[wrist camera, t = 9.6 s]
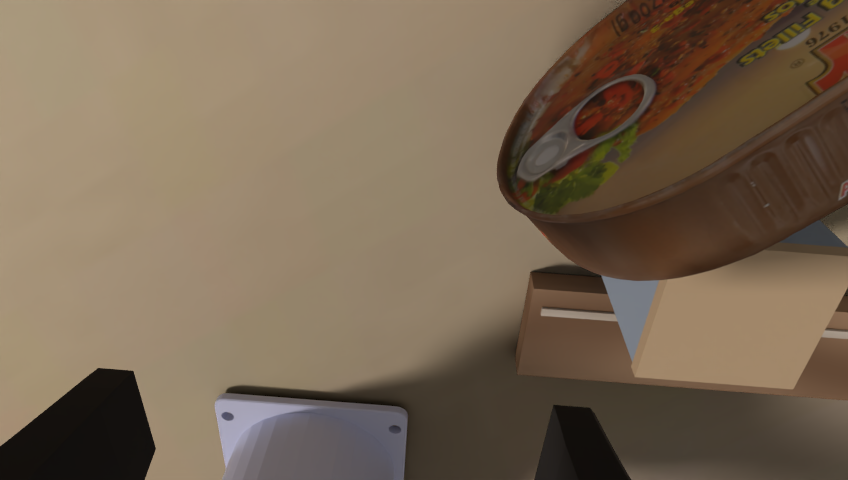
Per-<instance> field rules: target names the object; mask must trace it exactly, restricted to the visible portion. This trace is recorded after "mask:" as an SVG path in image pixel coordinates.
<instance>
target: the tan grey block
mask: <svg viewBox="0 0 848 480" xmlns="http://www.w3.org/2000/svg"><path fill="white" fill-rule="evenodd" d="M601 276H602V275H601ZM602 279H603V282H604V284H605V287H606V290H607V293H608V296H609V298H610V301H611V304H612V307H613V310H614V312H615V315H616V318H617V321H618V324H619V326H620V329H621V332H622V335H623V338H624V340H625V343H626V346H627V349H628V352H629V354H630V357H631V360H632V365H631V368H632V371H633V373H634V376H635V377H639V378H652V379H665V380H678V381H691V382H703V383H716V384H729V385H742V386H755V387H768V388H780V389H794V387H795V385H796V383H797V381H798V379H799V378H800V376H801V374H802V372H803V370H804V368H805V366H806V365H807V363H808V361H809V359H810V357H811V355H812V353H813V351H814V350H815V348H816V346H817V344H818V342H819V340H820V338H821V337H822V335H823V333H824V331H825V329H826V327H827V325H828V324H829V322H830V320H831V318H832V316H833V314H834V312H835V310H836V309H837V307H838V305H839V303H840V301H841V299H842V297H843V296H844V294H845V292H846V290H847V288H848V247H847V246H846V245H845V244H844V243H843V242H842V241H841V240H840V239H839V238H838V237H837V236H836V235H835V234H834V233H833V232H832V231H830V230H829V229H828V228H827V227H826V226H825V225H824V224H823V223H822V222H821V221H820V220H818V221H816V222H814V223H812V224H811V225H809V226H807V227H806V228H804V229H802V230H800V231H798V232H796V233H794V234H792V235H791V236H789V237H788V238H786V239H785V240H783V241H780V242H778V243H776V244H774V245H773V246H771V247H769V248H767V249H765V250H763V251H761V252H759V253H757V254H755V255H753V256H750V257H747V258H745V259H742V260H740V261H737V262H734V263H731V264H729V265H726V266H723V267H720V268H717V269H714V270H711V271H707V272H703V273H699V274H695V275H691V276H686V277H682V278H675V279H667V280H654V281H632V280H621V279H615V278H610V277H606V276H602Z"/></svg>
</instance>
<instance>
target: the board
mask: <svg viewBox="0 0 848 480" xmlns="http://www.w3.org/2000/svg"><path fill="white" fill-rule="evenodd" d="M515 361H516V369H517V375H527V376H540V377H553V378H566V379H579V380H591V381H604V382H617V383H630V384H643V385H656V386H669V387H682V388H695V389H708V390H721V391H734V392H746V393H759V394H772V395H785V396H798V397H811V398H824V399H837V400H848V296H843V297H842V299H841V301H840V303H839V305H838V307H837V309H836V310H835V312H834V314H833V316H832V318H831V320H830V322H829V324H828V325H827V327H826V329H825V331H824V333H823V335H822V337H821V338H820V340H819V342H818V344H817V346H816V348H815V350H814V351H813V353H812V355H811V357H810V359H809V361H808V363H807V365H806V366H805V368H804V370H803V372H802V374H801V376H800V378H799V379H798V381H797V383H796V385H795V387H794V389H780V388H768V387H755V386H742V385H729V384H716V383H703V382H691V381H678V380H665V379H652V378H639V377H635V376H634V373H633V371H632V368H631V365H632V360H631V357H630V354H629V352H628V349H627V346H626V343H625V340H624V338H623V335H622V332H621V329H620V326H619V324H618V321H617V318H616V315H615V312H614V310H613V307H612V304H611V301H610V298H609V296H608V293H607V290H606V287H605V284H604V282H603V279H602V277H591V276H578V275H565V274H552V273H538V272H531V273H530V278H529V284H528V289H527V295H526V300H525V305H524V311H523V316H522V321H521V327H520V332H519V337H518V343H517V348H516V354H515Z"/></svg>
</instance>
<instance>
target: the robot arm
mask: <svg viewBox="0 0 848 480" xmlns="http://www.w3.org/2000/svg"><path fill="white" fill-rule="evenodd" d="M215 411H216V416H217V422H218V427H219V433H220V439H221V444H222V450H223V455H224V461H225V466H226V470H225V473H224V475H223V478H222V480H404V469H405V454H406V438H407V423H408V414H407V412H406V410H405V409H403V408H401V407H397V406H386V405H374V404H361V403H348V402H335V401H322V400H310V399H297V398H284V397H271V396H258V395H246V394H233V393H223V394H221V395H219V396H218V398H217V400H216V402H215ZM228 412H229V413H228ZM392 425H396V426H392ZM155 449H156V448H155V444H154V441H153V437H152V434H151V431H150V427H149V424H148V420H147V417H146V413H145V410H144V406H143V403H142V399H141V396H140V392H139V389H138V386H137V382H136V379H135V375H134V372H133V371H128V370H115V369H103V368H98V369H97V370H95V371H94V372H93V373H91V374H90V375H89V376H88V377H86V378H85V379H84V380H82V381H81V382H80V383H79V384H77V385H76V386H75V387H74V388H72V389H71V390H70V391H69V392H68V393H66V394H65V395H64V396H63V397H61V398H60V399H59V400H58V401H56V402H55V403H54V404H53V405H51V406H50V407H49V408H48V409H47V410H45V411H44V412H43V413H42V414H40V415H39V416H38V417H37V418H35V419H34V420H33V421H32V422H30V423H29V424H28V425H27V426H25V427H24V428H23V429H22V430H20V431H19V432H18V433H17V434H15V435H14V436H13V437H12V438H10V439H9V440H8V441H7V442H5V443H4V444H3V445H1V446H0V480H145V477H146V474H147V471H148V469H149V466H150V463H151V460H152V458H153V455H154V452H155ZM535 480H631V479H630V477H629V476H628V474H627V472H626V470H625V469H624V467H623V465H622V463H621V462H620V460H619V458H618V456H617V455H616V453H615V451H614V449H613V447H612V445H611V444H610V442H609V440H608V438H607V436H606V434H605V432H604V431H603V429H602V427H601V425H600V423H599V421H598V419H597V417H596V415H595V413H594V412H593V411H592V410H591V409H590V408H584V407H572V406H559V405H554V406H553V409H552V413H551V417H550V421H549V425H548V429H547V433H546V437H545V441H544V445H543V449H542V452H541V456H540V460H539V464H538V468H537V472H536V476H535Z"/></svg>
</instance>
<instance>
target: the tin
mask: <svg viewBox="0 0 848 480" xmlns="http://www.w3.org/2000/svg"><path fill="white" fill-rule="evenodd" d="M497 180H498V183H499V188H500V191H501V193H502V194H503V196H504V198H505V199H506V201H507V202H508V203H509V204H510V205H511V206H512V207H513V208H514V209H516V210H517V211H519V212H521V213H522V214H524V215H526V216H527V217H528V218H529V219H530V220H531V221H532V223H533V224H534V225H535V226H536V227H537V228H538V229H539V230H540V231H541V232H542V234H543V235H544V236H545V237H546V238H547V239H548V240H549V241H550V242H551V243H552V244H553V245H554V246H555V247H556V248H557V249H558V250H559V251H560V252H561V253H563V254H564V255H565V256H566V257H567V258H568V259H570V260H571V261H573V262H574V263H576V264H577V265H579V266H580V267H582V268H585V269H587V270H589V271H591V272H594V273H597V274H599V275H602V276H606V277H610V278H615V279H621V280H632V281H654V280H667V279H675V278H682V277H686V276H691V275H695V274H699V273H703V272H707V271H711V270H714V269H717V268H720V267H723V266H726V265H729V264H731V263H734V262H737V261H740V260H742V259H745V258H747V257H750V256H753V255H755V254H757V253H759V252H761V251H763V250H765V249H767V248H769V247H771V246H773V245H774V244H776V243H778V242H780V241H783V240H785V239H786V238H788V237H789V236H791V235H792V234H794V233H796V232H798V231H800V230H802V229H804V228H806V227H807V226H809V225H811V224H812V223H814V222H816V221H818V220H820V219H821V218H823V217H825V216H827V215H829V214H830V213H832V212H834V211H836V210H838V209H839V208H841V207H843V206H845V205H847V204H848V0H627V1H626V2H624V3H623V4H622V5H620V6H619V7H618V8H617V9H615V10H614V11H613V12H612V13H610V14H609V15H608V16H607V17H605V18H604V19H603V20H602V21H600V22H599V23H598V24H597V25H595V26H594V27H593V28H592V29H591V30H589V31H588V32H587V33H586V34H585V35H584V36H582V37H581V38H580V39H579V40H578V41H577V42H576V43H575V44H574V45H573V46H571V47H570V48H569V49H568V50H567V51H566V52H565V53H564V54H563V55H562V57H561V58H560V59H559V60H558V61H557V62H556V63H555V64H554V65H553V66H552V67H551V68H550V69H549V70H548V71H547V72H546V74H545V75H544V76H543V77H542V78H541V79H540V80H539V82H538V83H537V84H536V85H535V87H534V88H533V89H532V91H531V92H530V93H529V95H528V96H527V97H526V98H525V100H524V101H523V103H522V105H521V107H520V108H519V110H518V111H517V113H516V115H515V116H514V118H513V120H512V122H511V124H510V126H509V128H508V130H507V132H506V134H505V137H504V140H503V143H502V146H501V150H500V153H499V158H498V163H497Z"/></svg>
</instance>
